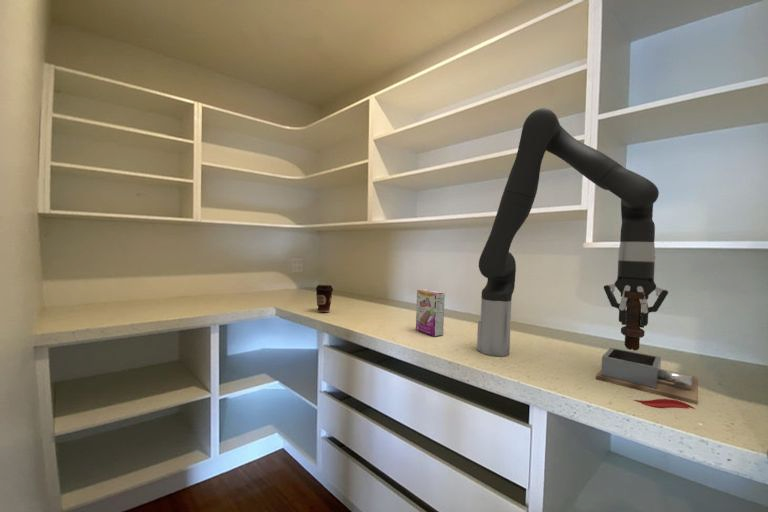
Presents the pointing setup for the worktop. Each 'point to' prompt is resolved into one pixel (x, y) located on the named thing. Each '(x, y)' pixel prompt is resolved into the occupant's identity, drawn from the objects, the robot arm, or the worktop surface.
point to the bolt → (633, 320)
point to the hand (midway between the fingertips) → (633, 325)
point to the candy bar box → (430, 312)
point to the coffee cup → (324, 297)
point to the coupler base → (660, 388)
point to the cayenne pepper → (665, 403)
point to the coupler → (640, 369)
